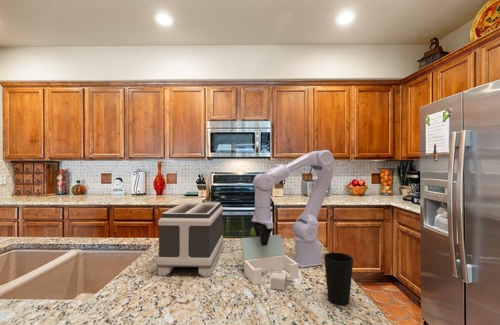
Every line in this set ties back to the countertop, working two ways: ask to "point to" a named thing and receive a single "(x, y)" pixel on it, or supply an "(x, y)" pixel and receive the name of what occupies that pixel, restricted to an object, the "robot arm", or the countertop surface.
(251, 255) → the cover
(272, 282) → the usb wall charger
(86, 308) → the countertop surface
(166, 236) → the toaster
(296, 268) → the c-shaped bracket
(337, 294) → the cup
